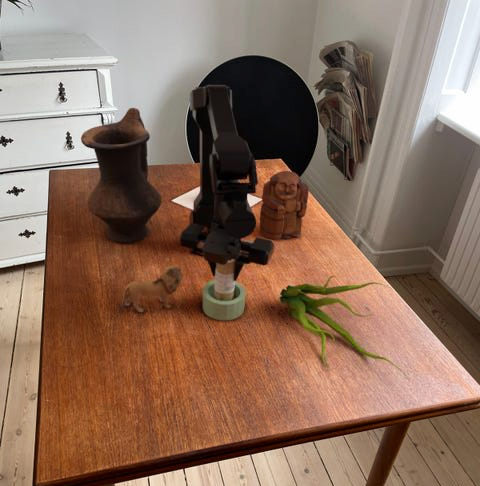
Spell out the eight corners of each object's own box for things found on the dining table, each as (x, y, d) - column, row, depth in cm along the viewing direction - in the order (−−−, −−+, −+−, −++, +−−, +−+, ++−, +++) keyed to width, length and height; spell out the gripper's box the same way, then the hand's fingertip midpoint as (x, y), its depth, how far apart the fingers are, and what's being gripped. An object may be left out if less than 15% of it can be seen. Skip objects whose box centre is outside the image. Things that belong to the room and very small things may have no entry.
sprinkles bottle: (230, 292, 113) (235, 242, 105) (235, 305, 110) (241, 254, 101) (210, 294, 112) (214, 243, 103) (215, 307, 109) (219, 256, 100)
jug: (145, 259, 125) (137, 139, 106) (79, 244, 128) (59, 126, 109) (176, 221, 141) (174, 111, 122) (116, 208, 144) (105, 100, 125)
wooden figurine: (262, 241, 135) (269, 178, 124) (257, 229, 140) (263, 167, 129) (304, 239, 138) (314, 177, 126) (297, 227, 142) (307, 167, 131)
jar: (196, 314, 110) (196, 298, 107) (211, 290, 117) (211, 274, 114) (236, 324, 108) (237, 308, 105) (249, 300, 115) (250, 284, 112)
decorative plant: (320, 398, 93) (334, 341, 84) (275, 301, 115) (283, 247, 105) (406, 386, 97) (430, 329, 87) (348, 294, 119) (361, 241, 109)
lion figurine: (177, 291, 115) (177, 258, 110) (186, 304, 112) (186, 271, 106) (115, 305, 110) (111, 272, 104) (121, 320, 106) (117, 286, 101)
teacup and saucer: (207, 191, 156) (207, 179, 153) (227, 199, 153) (228, 187, 150) (189, 201, 150) (189, 188, 148) (209, 209, 147) (210, 197, 144)
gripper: (167, 220, 93) (169, 288, 103) (263, 242, 89) (256, 309, 99) (190, 195, 101) (190, 260, 111) (278, 214, 97) (270, 279, 107)
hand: (225, 277), depth 107 cm, fingers closed on sprinkles bottle, 4 cm apart
